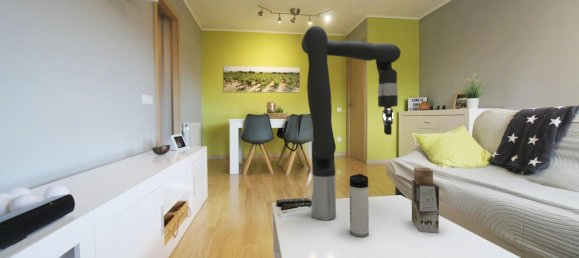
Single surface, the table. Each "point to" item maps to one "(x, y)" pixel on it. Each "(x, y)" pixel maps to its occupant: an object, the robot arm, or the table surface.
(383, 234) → the table surface
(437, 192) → the coffee box
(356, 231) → the travel mug
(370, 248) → the table surface
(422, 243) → the table surface
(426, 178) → the walnut block
